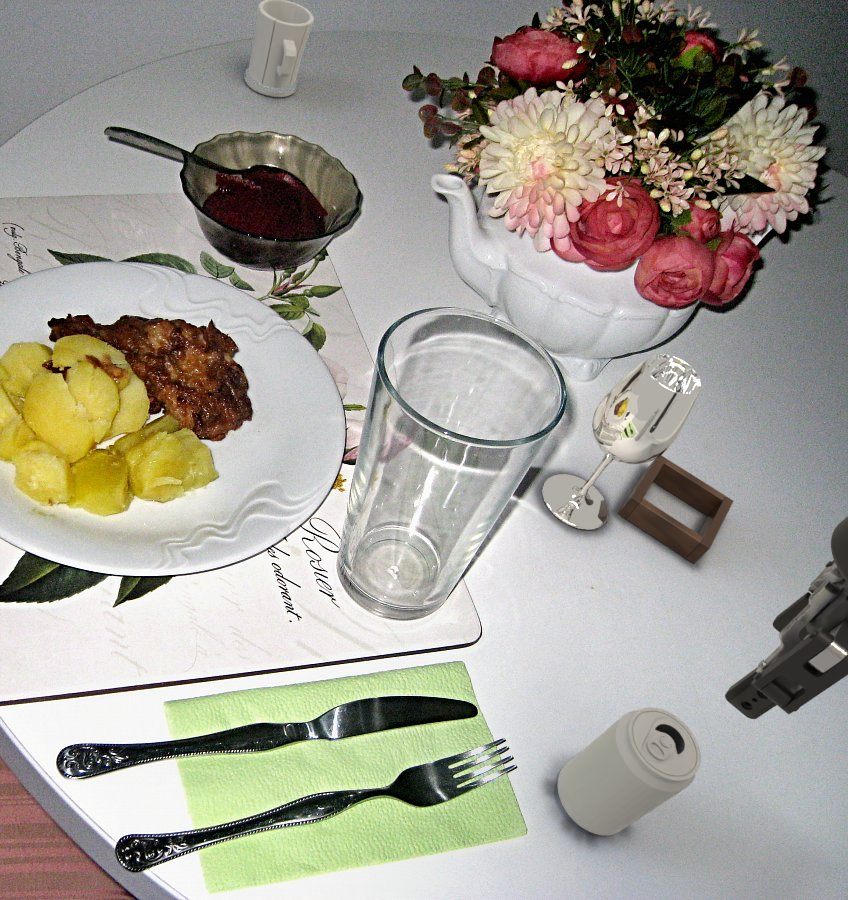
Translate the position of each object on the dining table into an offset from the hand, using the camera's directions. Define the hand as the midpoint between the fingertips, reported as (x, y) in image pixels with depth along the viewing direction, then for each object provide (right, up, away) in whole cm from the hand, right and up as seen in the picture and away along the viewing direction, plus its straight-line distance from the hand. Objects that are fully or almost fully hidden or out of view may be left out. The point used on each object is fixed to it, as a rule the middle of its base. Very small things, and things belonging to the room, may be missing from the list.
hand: (763, 667), depth 60 cm
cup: (-31, +74, +88) cm, 119 cm away
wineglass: (+1, +9, +39) cm, 40 cm away
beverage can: (-6, -15, +16) cm, 23 cm away
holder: (+13, +7, +40) cm, 43 cm away
